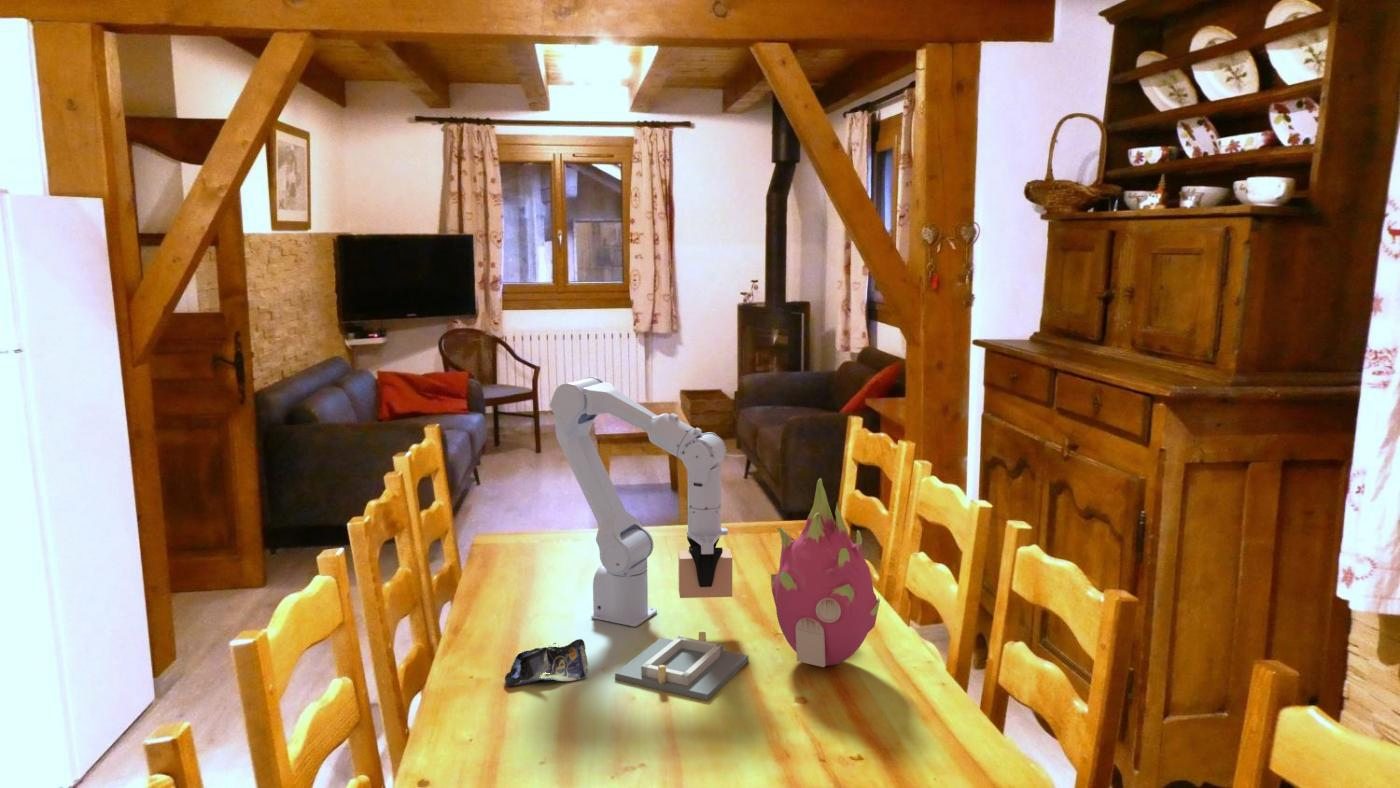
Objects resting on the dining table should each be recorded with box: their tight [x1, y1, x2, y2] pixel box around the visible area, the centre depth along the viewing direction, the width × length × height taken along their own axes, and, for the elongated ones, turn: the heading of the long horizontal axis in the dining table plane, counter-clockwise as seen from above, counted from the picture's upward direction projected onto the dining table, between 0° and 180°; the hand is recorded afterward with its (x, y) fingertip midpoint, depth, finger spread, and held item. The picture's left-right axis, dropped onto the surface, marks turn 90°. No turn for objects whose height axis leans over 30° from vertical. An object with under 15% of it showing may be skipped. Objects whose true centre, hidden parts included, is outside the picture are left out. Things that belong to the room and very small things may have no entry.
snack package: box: [504, 638, 589, 688], centre depth 150 cm, size 12×7×12 cm
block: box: [678, 548, 733, 599], centre depth 166 cm, size 9×4×7 cm, turn 94°
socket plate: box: [614, 631, 749, 702], centre depth 152 cm, size 16×15×4 cm
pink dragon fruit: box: [770, 477, 881, 668], centre depth 152 cm, size 18×14×30 cm
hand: (704, 581), depth 167 cm, fingers closed on block, 4 cm apart
